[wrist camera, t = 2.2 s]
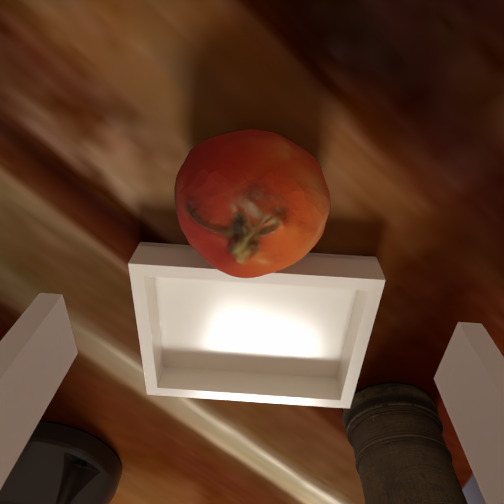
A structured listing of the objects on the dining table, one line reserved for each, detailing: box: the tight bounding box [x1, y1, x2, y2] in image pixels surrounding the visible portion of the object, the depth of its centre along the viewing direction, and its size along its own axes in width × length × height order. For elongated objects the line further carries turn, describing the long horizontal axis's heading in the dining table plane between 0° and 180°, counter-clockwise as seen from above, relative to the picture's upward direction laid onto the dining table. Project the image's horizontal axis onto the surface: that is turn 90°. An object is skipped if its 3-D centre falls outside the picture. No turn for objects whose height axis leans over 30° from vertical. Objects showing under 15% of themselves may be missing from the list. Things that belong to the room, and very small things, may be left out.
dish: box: [128, 242, 386, 408], centre depth 33 cm, size 18×14×3 cm
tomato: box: [175, 129, 330, 278], centre depth 24 cm, size 9×9×8 cm
